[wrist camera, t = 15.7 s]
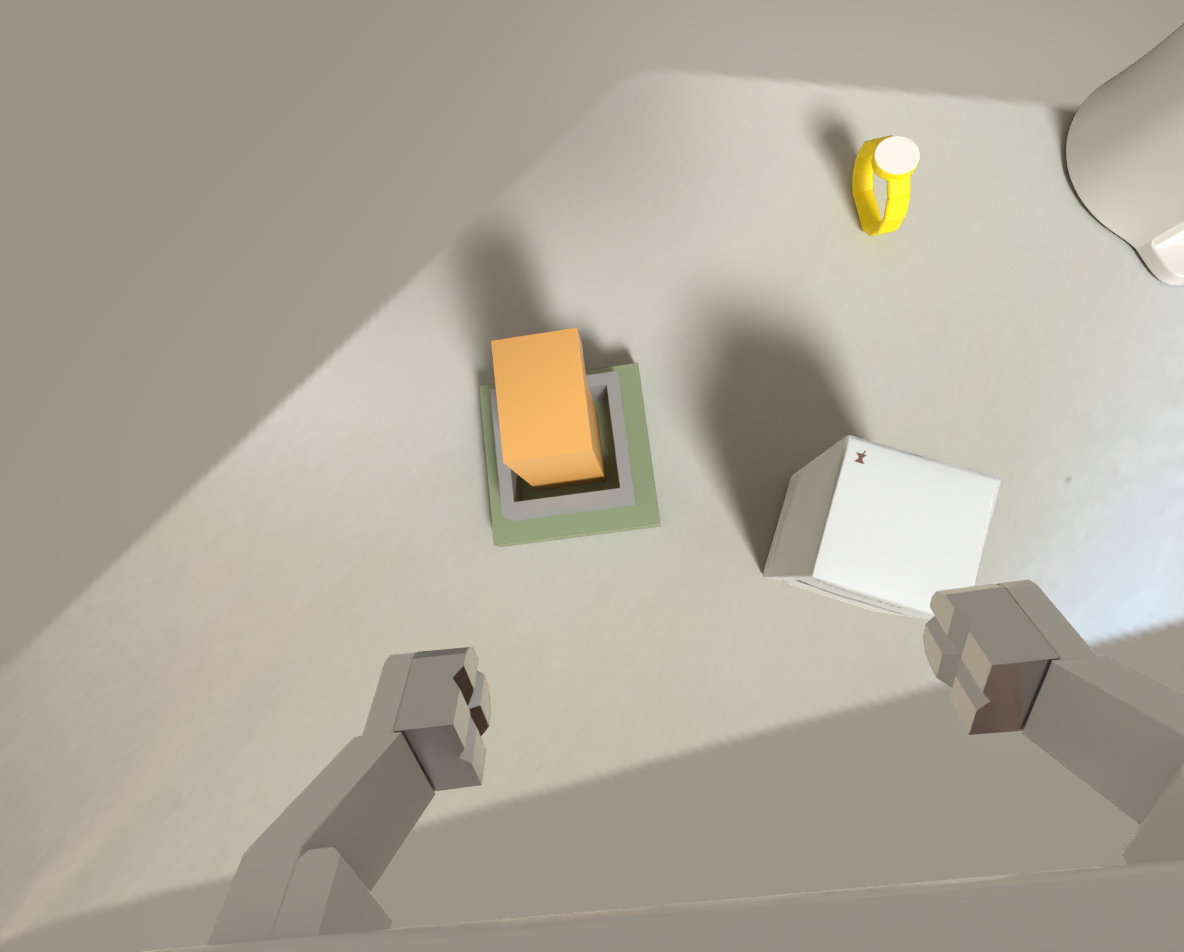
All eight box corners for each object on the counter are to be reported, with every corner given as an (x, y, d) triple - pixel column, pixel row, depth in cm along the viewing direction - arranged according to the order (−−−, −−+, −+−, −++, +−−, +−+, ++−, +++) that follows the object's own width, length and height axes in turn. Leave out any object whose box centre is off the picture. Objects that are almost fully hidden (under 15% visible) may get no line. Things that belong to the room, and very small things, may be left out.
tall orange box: (606, 481, 42) (592, 450, 32) (537, 490, 42) (503, 462, 32) (593, 385, 43) (577, 327, 33) (527, 395, 43) (490, 340, 33)
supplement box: (759, 577, 42) (804, 576, 30) (790, 472, 43) (847, 427, 30) (871, 615, 41) (967, 629, 28) (901, 506, 42) (1006, 474, 29)
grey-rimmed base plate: (638, 372, 45) (636, 346, 40) (660, 526, 43) (661, 519, 38) (486, 394, 46) (466, 371, 41) (501, 546, 44) (482, 542, 39)
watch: (836, 181, 46) (861, 118, 41) (874, 173, 46) (905, 108, 40) (858, 253, 45) (887, 197, 39) (898, 244, 45) (933, 188, 39)
